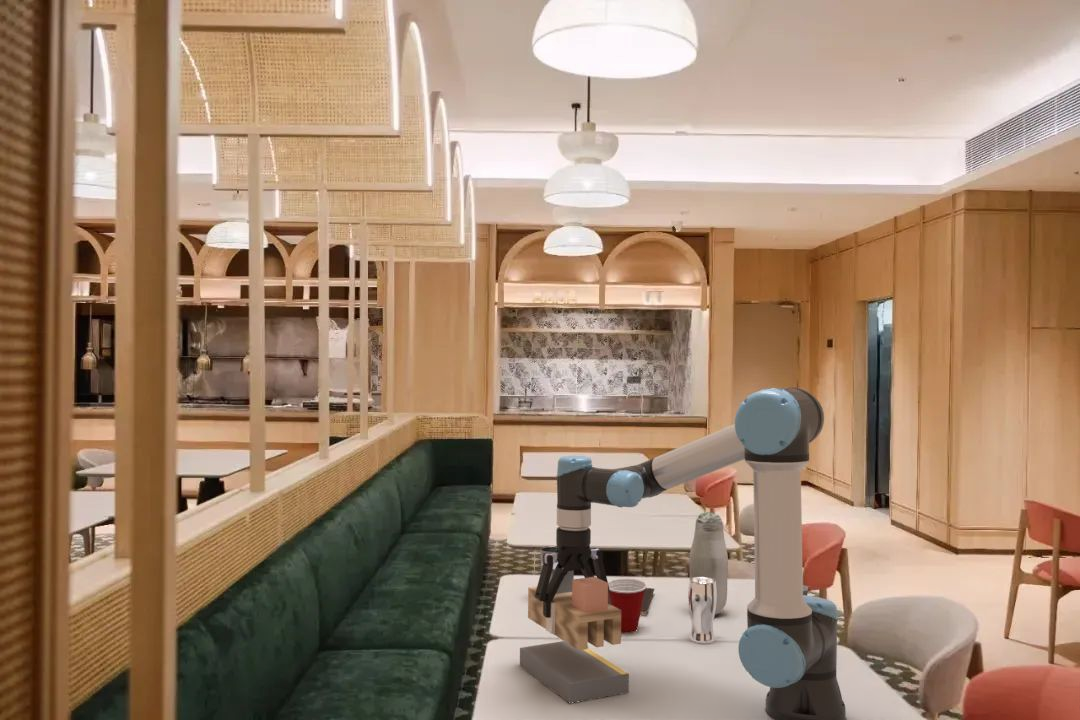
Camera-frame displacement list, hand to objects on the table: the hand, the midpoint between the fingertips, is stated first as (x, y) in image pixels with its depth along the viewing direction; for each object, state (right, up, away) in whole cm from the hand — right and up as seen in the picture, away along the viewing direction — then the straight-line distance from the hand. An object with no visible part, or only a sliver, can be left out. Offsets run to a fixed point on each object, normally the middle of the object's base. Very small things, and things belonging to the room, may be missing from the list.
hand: (572, 628), depth 187 cm
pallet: (0, 0, 0) cm, 0 cm away
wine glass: (-3, -11, +60) cm, 61 cm away
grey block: (-3, +7, +7) cm, 10 cm away
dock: (0, -11, 0) cm, 11 cm away
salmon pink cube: (+3, +7, -7) cm, 10 cm away
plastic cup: (+15, -11, +34) cm, 39 cm away
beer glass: (+33, -11, +27) cm, 44 cm away
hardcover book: (+17, -12, +59) cm, 62 cm away
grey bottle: (+39, -11, +49) cm, 64 cm away
